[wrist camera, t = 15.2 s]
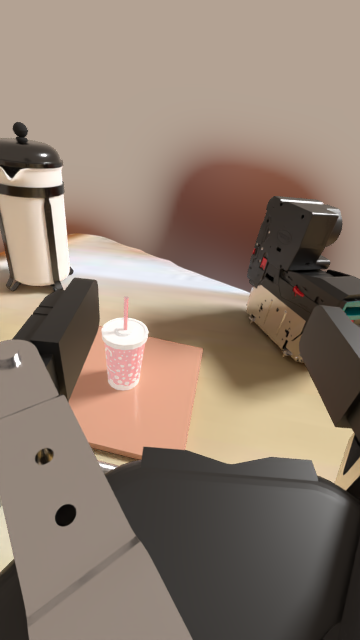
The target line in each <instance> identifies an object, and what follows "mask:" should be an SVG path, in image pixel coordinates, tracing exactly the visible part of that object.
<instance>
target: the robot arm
mask: <svg viewBox="0 0 360 640" xmlns="http://www.w3.org/2000/svg"><path fill="white" fill-rule="evenodd" d="M99 319H100V316H99V297H98V284H97V281H96V280H91V279H82V278H74V279H73V280H72V281H71V283H70V284H69V285H68V287H67V288H66V290H57V291H55V292H53V293H51V294H50V295H48V296H46V297H45V298H44V300H43V301H42V302H41V303H40V305H39V307H37V309H36V310H35V311H34V312H33V315H31V316H30V317H29V319H28V320H27V321H26V322H25V324H24V325H23V326H22V328H21V329H20V330H19V331H18V333H17V334H16V335H15V336H14V338H13V339H12V340H6V341H2V342H0V497H1V501H2V506H3V510H4V515H5V519H6V524H7V528H8V533H9V537H10V542H11V546H12V550H13V555H14V559H13V560H12V561H11V562H10V563H9V564H8V565H7V566H6V567H5V568H4V569H3V570H2V571H1V572H0V640H360V327H358V326H357V325H356V324H354V323H353V322H352V321H351V320H350V319H349V317H348V316H347V315H346V314H345V312H344V311H343V310H342V309H341V308H340V307H333V306H324V305H317V306H316V307H315V308H314V309H313V311H312V313H311V315H310V318H309V320H308V322H307V324H306V327H305V329H304V331H303V333H302V335H301V338H300V341H299V352H300V355H301V357H302V359H303V361H304V363H305V365H306V367H307V369H308V371H309V373H310V376H311V378H312V380H313V382H314V384H315V386H316V388H317V390H318V392H319V394H320V396H321V398H322V401H323V403H324V405H325V407H326V409H327V411H328V413H329V415H330V417H331V419H332V421H333V423H334V426H335V427H341V428H352V430H353V431H354V433H353V434H352V436H351V437H350V438H349V441H348V444H347V447H346V450H345V453H344V456H343V459H342V462H341V465H340V468H339V471H338V475H337V478H336V481H335V483H332V482H331V481H329V480H327V479H324V478H322V477H320V476H317V474H316V472H315V469H314V466H313V463H312V461H311V460H301V459H289V458H277V457H269V458H263V459H258V460H253V461H248V462H243V463H237V464H226V463H223V462H220V461H217V460H214V459H211V458H208V457H205V456H202V455H199V454H196V453H193V452H190V451H187V450H180V449H168V448H155V447H143V453H142V460H137V461H132V462H129V463H126V464H123V465H121V466H118V467H116V468H114V469H112V470H110V471H108V472H107V473H105V474H104V473H103V471H102V469H101V467H100V465H99V463H98V461H97V459H96V457H95V455H94V453H93V451H92V449H91V447H90V445H89V443H88V441H87V439H86V437H85V435H84V433H83V431H82V429H81V427H80V425H79V423H78V421H77V419H76V417H75V415H74V413H73V411H72V409H71V407H70V405H69V403H68V402H69V399H70V397H71V394H72V392H73V390H74V387H75V385H76V382H77V380H78V378H79V375H80V373H81V370H82V368H83V366H84V363H85V361H86V358H87V356H88V354H89V351H90V349H91V346H92V344H93V342H94V339H95V337H96V334H97V332H98V328H99Z"/></svg>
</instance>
